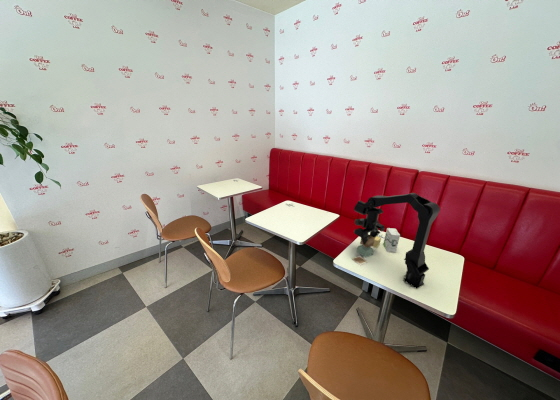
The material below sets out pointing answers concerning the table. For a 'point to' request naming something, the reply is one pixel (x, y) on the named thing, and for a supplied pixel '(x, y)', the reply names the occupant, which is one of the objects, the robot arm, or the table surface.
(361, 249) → the base block
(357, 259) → the swatch
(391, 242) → the ink box
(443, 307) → the table surface
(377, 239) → the ochre cube
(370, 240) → the walnut cube
